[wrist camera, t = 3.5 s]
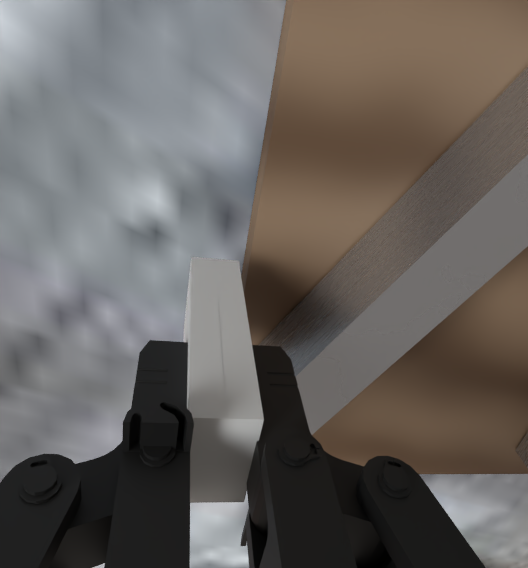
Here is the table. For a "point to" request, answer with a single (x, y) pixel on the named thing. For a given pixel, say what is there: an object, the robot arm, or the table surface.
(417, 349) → the board
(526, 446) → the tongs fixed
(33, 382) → the table surface
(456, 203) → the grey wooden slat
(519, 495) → the table surface
